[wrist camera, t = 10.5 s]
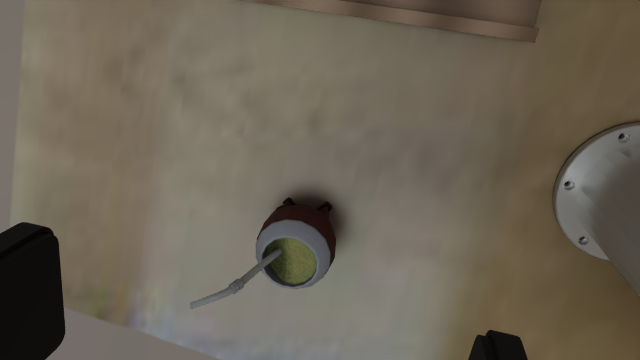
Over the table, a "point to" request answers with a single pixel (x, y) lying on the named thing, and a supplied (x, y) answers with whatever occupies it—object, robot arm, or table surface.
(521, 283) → the table surface
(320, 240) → the mate gourd
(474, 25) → the press bed
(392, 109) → the table surface
